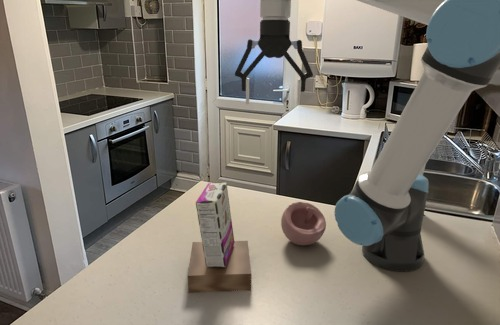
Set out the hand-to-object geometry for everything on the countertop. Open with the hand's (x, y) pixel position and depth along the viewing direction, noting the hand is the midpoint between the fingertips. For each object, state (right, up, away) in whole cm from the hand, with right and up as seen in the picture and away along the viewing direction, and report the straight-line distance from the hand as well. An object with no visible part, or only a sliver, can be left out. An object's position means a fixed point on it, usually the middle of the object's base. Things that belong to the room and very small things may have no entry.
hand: (272, 103), depth 102 cm
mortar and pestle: (+8, -38, +3) cm, 39 cm away
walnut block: (-13, -43, -10) cm, 46 cm away
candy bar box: (-13, -38, -11) cm, 42 cm away
